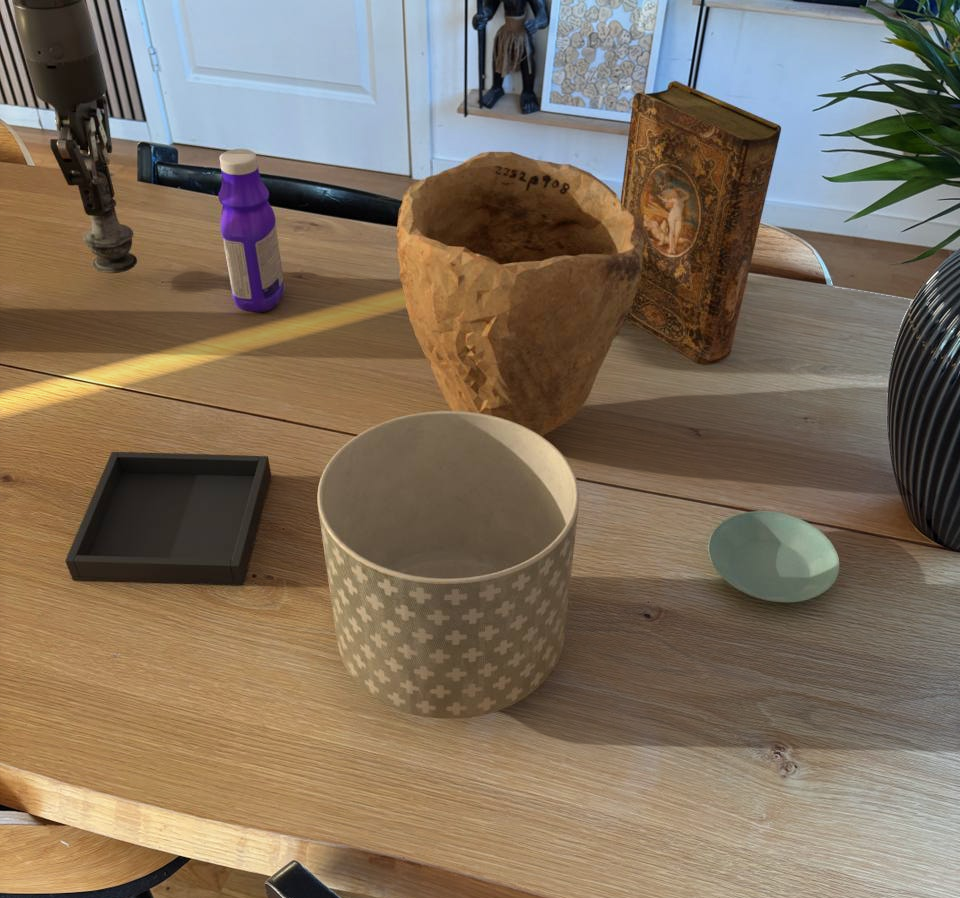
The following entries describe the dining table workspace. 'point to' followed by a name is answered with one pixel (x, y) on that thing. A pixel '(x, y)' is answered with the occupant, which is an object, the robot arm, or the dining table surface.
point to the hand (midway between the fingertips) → (100, 205)
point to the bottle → (249, 233)
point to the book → (695, 213)
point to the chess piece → (109, 236)
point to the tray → (172, 519)
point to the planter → (449, 560)
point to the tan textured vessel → (517, 283)
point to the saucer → (773, 556)
